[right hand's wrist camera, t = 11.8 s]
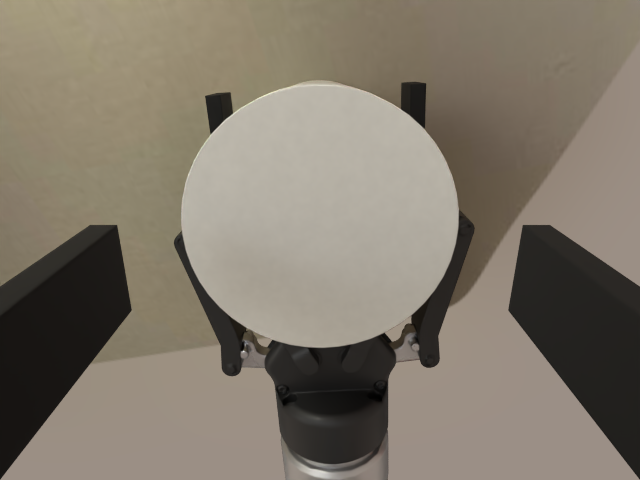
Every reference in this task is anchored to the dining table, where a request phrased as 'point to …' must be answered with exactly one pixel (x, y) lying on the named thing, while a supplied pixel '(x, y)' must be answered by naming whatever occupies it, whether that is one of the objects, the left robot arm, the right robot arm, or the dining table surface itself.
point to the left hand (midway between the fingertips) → (315, 88)
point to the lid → (320, 215)
